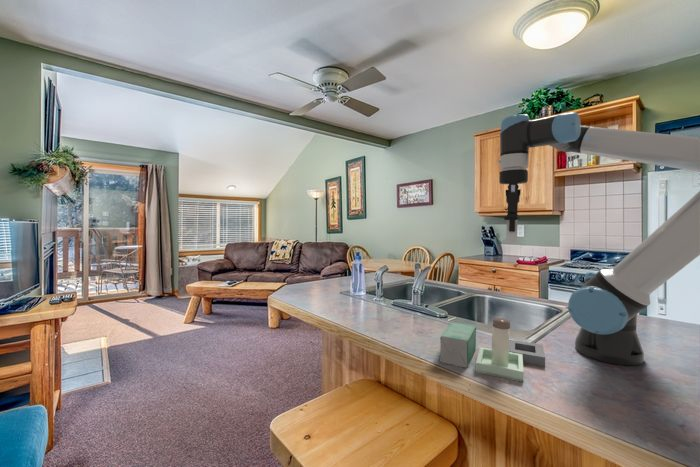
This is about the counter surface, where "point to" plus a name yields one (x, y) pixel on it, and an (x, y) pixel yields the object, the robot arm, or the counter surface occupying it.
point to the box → (458, 344)
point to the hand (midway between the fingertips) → (511, 241)
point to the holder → (528, 352)
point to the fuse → (500, 341)
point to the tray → (510, 372)
